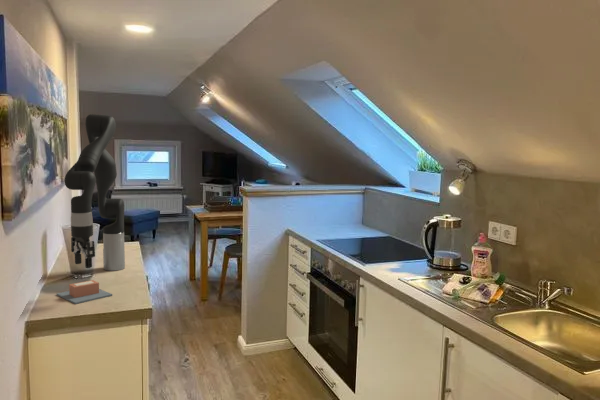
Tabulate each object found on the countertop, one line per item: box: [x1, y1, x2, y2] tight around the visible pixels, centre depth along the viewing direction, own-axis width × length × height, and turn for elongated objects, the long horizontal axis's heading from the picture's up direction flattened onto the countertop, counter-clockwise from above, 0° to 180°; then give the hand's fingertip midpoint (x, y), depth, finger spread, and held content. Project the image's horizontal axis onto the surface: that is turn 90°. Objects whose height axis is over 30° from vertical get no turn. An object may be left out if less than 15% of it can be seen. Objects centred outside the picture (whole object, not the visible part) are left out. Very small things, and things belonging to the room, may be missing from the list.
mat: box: [55, 288, 113, 305], centre depth 180 cm, size 16×14×1 cm
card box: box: [68, 279, 100, 298], centre depth 179 cm, size 9×6×4 cm, turn 135°
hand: (83, 265), depth 179 cm, fingers open, 8 cm apart
